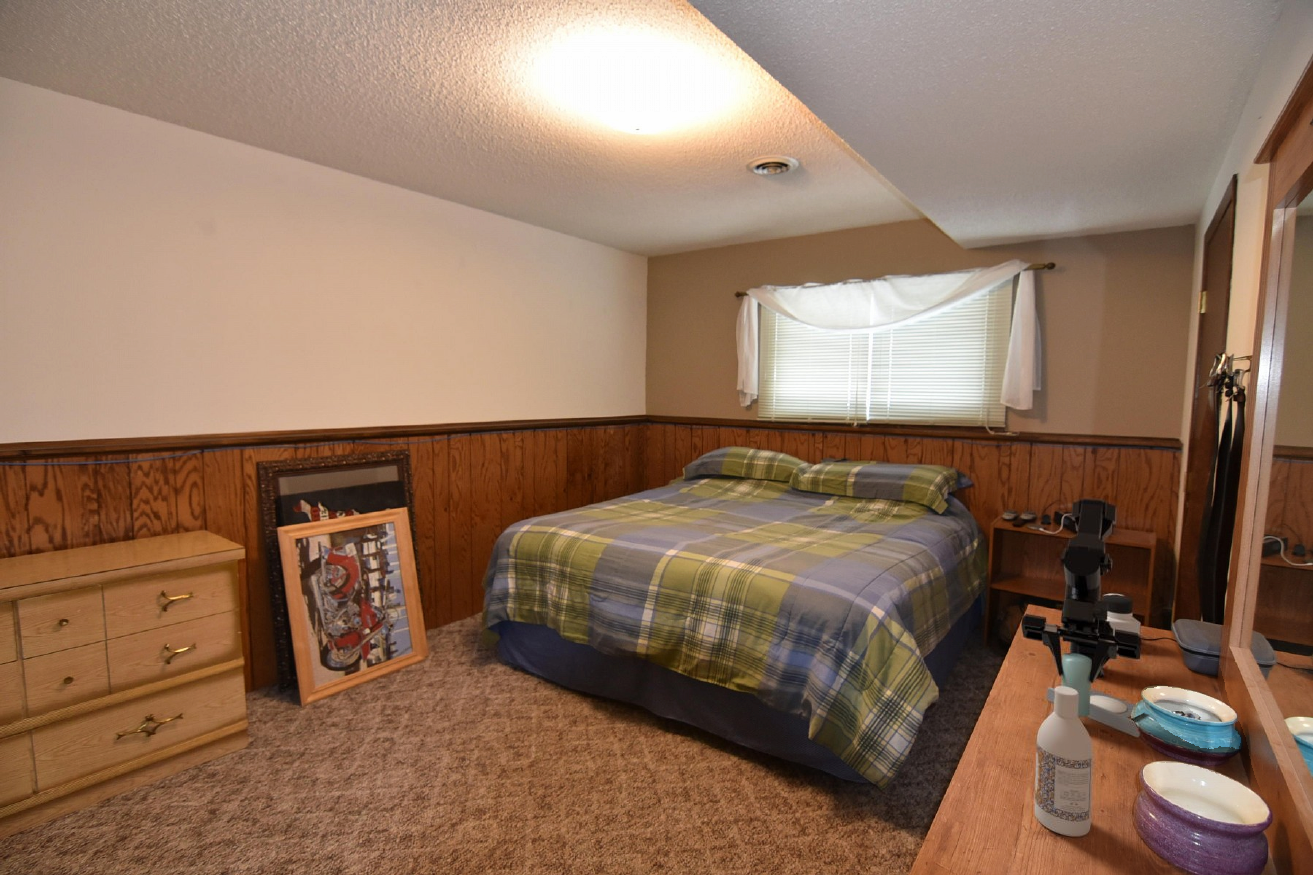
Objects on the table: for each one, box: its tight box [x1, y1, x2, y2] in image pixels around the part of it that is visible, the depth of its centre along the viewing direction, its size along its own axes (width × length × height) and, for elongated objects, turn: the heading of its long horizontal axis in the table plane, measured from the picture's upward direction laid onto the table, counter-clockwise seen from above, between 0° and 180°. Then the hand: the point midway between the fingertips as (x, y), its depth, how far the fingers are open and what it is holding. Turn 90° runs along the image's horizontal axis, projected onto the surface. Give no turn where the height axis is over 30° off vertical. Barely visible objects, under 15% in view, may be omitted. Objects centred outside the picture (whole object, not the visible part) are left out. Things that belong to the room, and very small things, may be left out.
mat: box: [1090, 689, 1136, 719], centre depth 126 cm, size 9×9×1 cm
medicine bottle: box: [1101, 593, 1142, 636], centre depth 155 cm, size 7×7×12 cm
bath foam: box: [1034, 685, 1094, 837], centre depth 94 cm, size 7×7×20 cm
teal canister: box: [1061, 652, 1092, 717], centre depth 120 cm, size 4×4×10 cm
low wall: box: [1046, 686, 1141, 738], centre depth 123 cm, size 16×1×2 cm, turn 29°
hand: (1075, 678), depth 119 cm, fingers closed on teal canister, 4 cm apart
